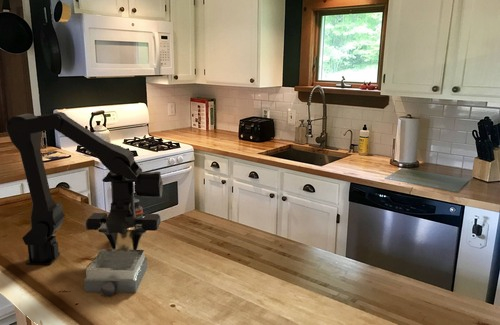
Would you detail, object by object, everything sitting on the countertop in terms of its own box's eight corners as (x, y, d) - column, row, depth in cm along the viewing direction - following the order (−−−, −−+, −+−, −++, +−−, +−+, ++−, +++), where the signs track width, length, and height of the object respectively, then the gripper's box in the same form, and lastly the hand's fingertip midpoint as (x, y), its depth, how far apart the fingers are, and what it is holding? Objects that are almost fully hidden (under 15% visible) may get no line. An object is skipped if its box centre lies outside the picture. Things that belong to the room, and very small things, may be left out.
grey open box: (81, 296, 95) (80, 274, 93) (101, 267, 108) (100, 248, 107) (133, 296, 95) (133, 275, 94) (147, 268, 108) (146, 249, 107)
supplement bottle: (138, 239, 126) (136, 204, 124) (120, 237, 127) (118, 202, 125) (146, 231, 132) (145, 198, 129) (129, 229, 133) (128, 196, 130)
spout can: (112, 263, 110) (111, 226, 107) (118, 254, 115) (117, 218, 113) (132, 264, 110) (131, 226, 108) (137, 254, 116) (136, 218, 113)
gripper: (75, 206, 101) (80, 264, 104) (151, 207, 101) (153, 265, 105) (91, 192, 112) (95, 245, 115) (160, 193, 112) (161, 246, 116)
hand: (125, 250), depth 112 cm, fingers closed on spout can, 5 cm apart
